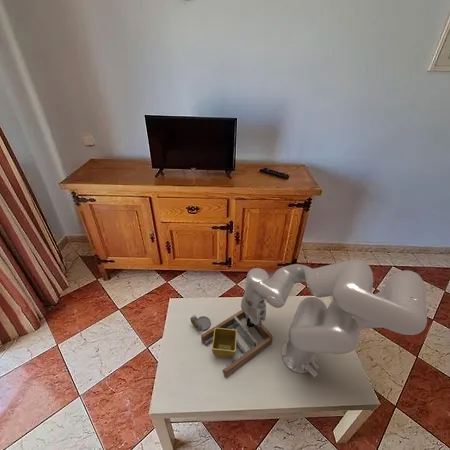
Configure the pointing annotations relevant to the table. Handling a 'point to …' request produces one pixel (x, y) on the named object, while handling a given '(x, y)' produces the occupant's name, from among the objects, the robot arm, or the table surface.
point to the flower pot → (224, 342)
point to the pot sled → (242, 332)
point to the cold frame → (250, 354)
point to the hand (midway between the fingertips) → (250, 325)
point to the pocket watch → (200, 323)
